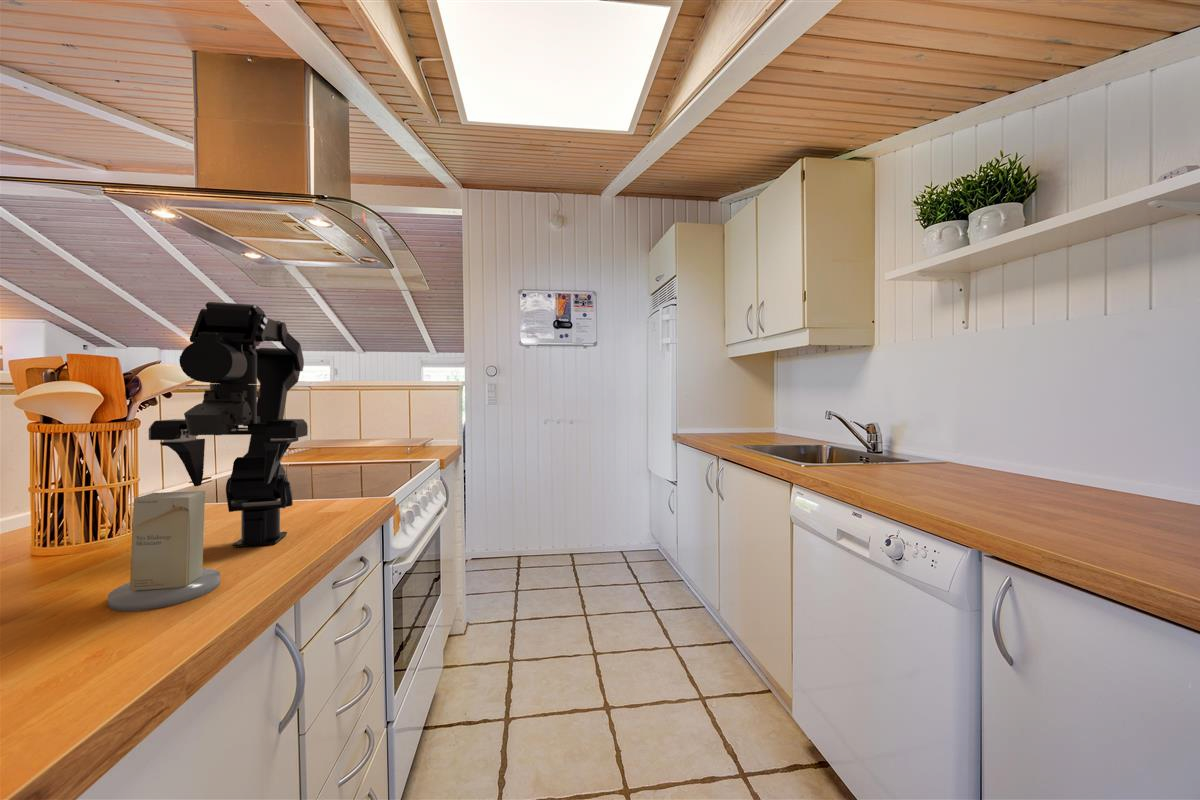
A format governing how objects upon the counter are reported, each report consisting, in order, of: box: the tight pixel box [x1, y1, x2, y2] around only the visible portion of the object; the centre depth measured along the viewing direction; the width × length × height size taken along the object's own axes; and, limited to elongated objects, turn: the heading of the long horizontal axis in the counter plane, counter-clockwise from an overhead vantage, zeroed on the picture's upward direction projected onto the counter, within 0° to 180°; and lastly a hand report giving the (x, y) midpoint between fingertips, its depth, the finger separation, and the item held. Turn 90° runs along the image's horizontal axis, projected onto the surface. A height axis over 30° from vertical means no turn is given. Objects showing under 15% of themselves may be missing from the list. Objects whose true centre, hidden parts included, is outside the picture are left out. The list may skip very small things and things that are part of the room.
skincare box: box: [129, 490, 206, 591], centre depth 62 cm, size 6×4×12 cm
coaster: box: [107, 567, 221, 612], centre depth 62 cm, size 11×11×1 cm
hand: (233, 484), depth 71 cm, fingers open, 9 cm apart
